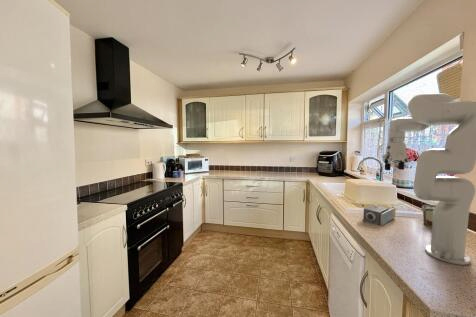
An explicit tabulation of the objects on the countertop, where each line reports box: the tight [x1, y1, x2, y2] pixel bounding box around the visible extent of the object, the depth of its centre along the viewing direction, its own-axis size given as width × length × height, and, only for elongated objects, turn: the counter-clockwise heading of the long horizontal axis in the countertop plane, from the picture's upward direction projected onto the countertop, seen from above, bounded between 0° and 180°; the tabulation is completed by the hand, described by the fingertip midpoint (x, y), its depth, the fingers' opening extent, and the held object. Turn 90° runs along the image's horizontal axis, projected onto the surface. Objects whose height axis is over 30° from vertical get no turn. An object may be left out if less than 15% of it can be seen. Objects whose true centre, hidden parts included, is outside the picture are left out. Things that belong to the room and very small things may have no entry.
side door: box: [379, 207, 397, 227], centre depth 116 cm, size 18×1×6 cm, turn 126°
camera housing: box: [362, 204, 390, 226], centre depth 118 cm, size 14×8×8 cm, turn 126°
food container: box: [421, 204, 437, 227], centre depth 113 cm, size 12×6×10 cm, turn 84°
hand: (394, 169), depth 123 cm, fingers open, 9 cm apart
